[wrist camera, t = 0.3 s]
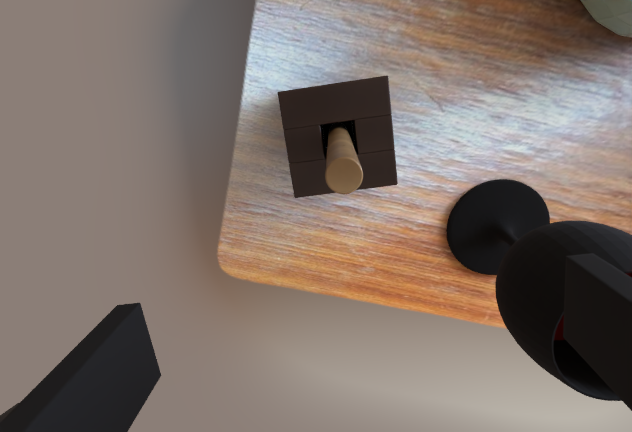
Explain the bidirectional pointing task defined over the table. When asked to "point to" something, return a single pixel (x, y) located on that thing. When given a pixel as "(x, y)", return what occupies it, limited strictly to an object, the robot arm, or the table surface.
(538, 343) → the wine glass
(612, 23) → the bowl
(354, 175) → the stick
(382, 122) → the stand
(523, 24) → the table surface
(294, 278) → the table surface
